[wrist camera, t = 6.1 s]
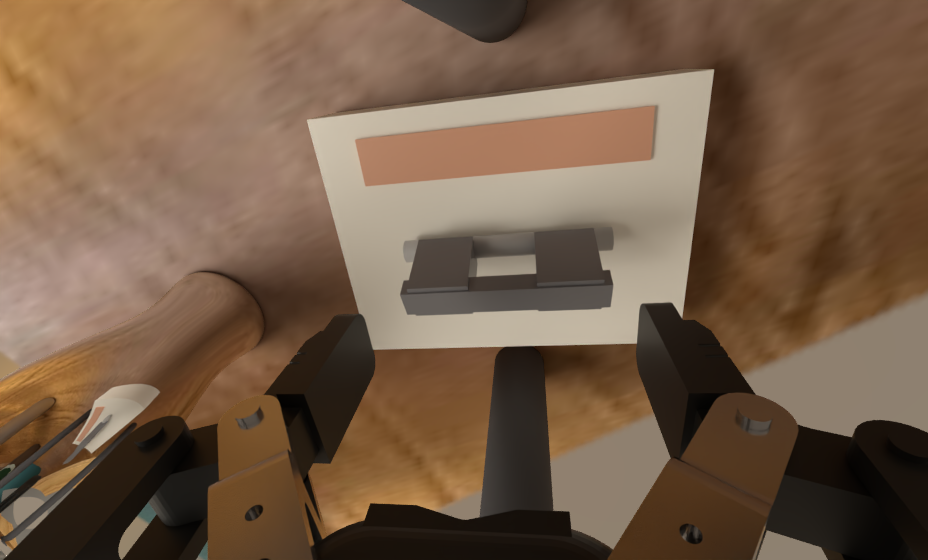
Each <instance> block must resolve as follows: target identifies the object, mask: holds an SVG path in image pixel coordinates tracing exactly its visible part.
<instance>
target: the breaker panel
mask: <svg viewBox="0 0 928 560" xmlns="http://www.w3.org/2000/svg"><path fill="white" fill-rule="evenodd" d="M713 75H714V69H679V70H671V71H663V72H655V73H647V74H639V75H631V76H623V77H615V78H608V79H600V80H592V81H584V82H576V83H568V84H560V85H552V86H544V87H536V88H528V89H520V90H512V91H504V92H496V93H488V94H480V95H472V96H464V97H456V98H448V99H440V100H432V101H424V102H416V103H408V104H400V105H392V106H384V107H376V108H369V109H361V110H353V111H345V112H337V113H332V114H328V115H324V116H320V117H316V118H312V119H308V120H307V122H308V126H309V130H310V133H311V137H312V141H313V145H314V148H315V152H316V156H317V159H318V163H319V167H320V170H321V174H322V178H323V182H324V185H325V189H326V193H327V196H328V200H329V204H330V207H331V211H332V215H333V219H334V222H335V226H336V230H337V233H338V237H339V241H340V245H341V248H342V252H343V256H344V259H345V263H346V267H347V270H348V274H349V278H350V282H351V285H352V289H353V293H354V296H355V300H356V304H357V307H358V311H359V314H361V315H363V317H364V319H365V321H366V325H367V329H368V333H369V336H370V340H371V344H372V348H373V350H376V349H420V348H463V347H507V346H550V345H593V344H637V335H638V321H639V310H640V306H641V304H642V303H665V302H671V303H673V305H674V306H675V308H676V309H677V311H678V313H679V314H680V316H681V318H682V315H683V307H684V300H685V292H686V284H687V276H688V269H689V261H690V253H691V246H692V238H693V230H694V222H695V215H696V207H697V199H698V191H699V184H700V176H701V168H702V160H703V153H704V145H705V137H706V129H707V122H708V114H709V106H710V98H711V91H712V83H713ZM599 227H612V229H613V235H614V246H613V250H611V251H599V255H600V260H601V264H602V269H603V270H610V272H611V276H612V281H613V293H612V300H611V307H604V308H602V309H589V310H562V311H538V310H523V311H497V312H473V314H453V315H425V316H416V315H407V313H406V310H405V307H404V305H403V302H402V299H401V297H400V292H401V288H402V285H403V281H404V280H409V277H410V273H411V269H412V265H413V262H408V263H407V262H406V261H405V259H404V254H403V245H404V242H405V241H409V240H423V239H438V238H453V237H467V236H482V235H497V234H512V233H526V232H540V231H555V230H570V229H584V228H599ZM477 262H478V266H477V277H480V276H499V275H519V274H536V259H535V255H526V256H509V257H492V258H477Z"/></svg>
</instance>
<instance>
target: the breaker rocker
mask: <svg viewBox="0 0 928 560" xmlns="http://www.w3.org/2000/svg"><path fill="white" fill-rule="evenodd" d="M613 246H614V235H613V229H612V227H599V228H584V229H570V230H555V231H540V232H526V233H512V234H497V235H482V236H467V237H453V238H438V239H423V240H409V241H405V242H404V245H403V254H404V259H405V261H406V262H407V263H408V262H413V265H412V269H411V273H410V277H409V280H404V281H403V285H402V288H401V292H400V297H401V299H402V302H403V305H404V307H405V310H406V313H407V315H416V316H425V315H453V314H473V312H497V311H523V310H538V311H562V310H589V309H602V308H604V307H611V300H612V293H613V281H612V276H611V272H610V270H603V269H602V264H601V260H600V255H599V251H611V250H613ZM526 255H535V259H536V274H519V275H499V276H480V277H477V266H478V262H477V258H492V257H509V256H526Z"/></svg>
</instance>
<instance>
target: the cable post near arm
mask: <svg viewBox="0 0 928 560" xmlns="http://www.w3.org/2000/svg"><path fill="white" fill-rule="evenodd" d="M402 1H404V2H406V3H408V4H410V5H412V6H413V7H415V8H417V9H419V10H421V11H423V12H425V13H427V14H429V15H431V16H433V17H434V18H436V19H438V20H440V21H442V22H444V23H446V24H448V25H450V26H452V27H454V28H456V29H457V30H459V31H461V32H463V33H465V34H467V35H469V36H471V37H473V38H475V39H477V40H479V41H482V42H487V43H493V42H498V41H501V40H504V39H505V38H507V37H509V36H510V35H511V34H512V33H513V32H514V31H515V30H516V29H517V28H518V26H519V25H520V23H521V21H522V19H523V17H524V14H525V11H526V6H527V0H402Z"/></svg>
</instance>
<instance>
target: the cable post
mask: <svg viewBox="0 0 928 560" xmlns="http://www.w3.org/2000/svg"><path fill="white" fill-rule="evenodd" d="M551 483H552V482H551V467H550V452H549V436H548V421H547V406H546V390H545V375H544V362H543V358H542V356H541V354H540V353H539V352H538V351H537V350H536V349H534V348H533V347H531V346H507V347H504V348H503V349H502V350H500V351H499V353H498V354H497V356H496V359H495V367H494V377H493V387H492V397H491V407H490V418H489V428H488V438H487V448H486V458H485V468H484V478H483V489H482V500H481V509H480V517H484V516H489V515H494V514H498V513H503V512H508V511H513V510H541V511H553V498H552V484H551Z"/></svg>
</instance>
